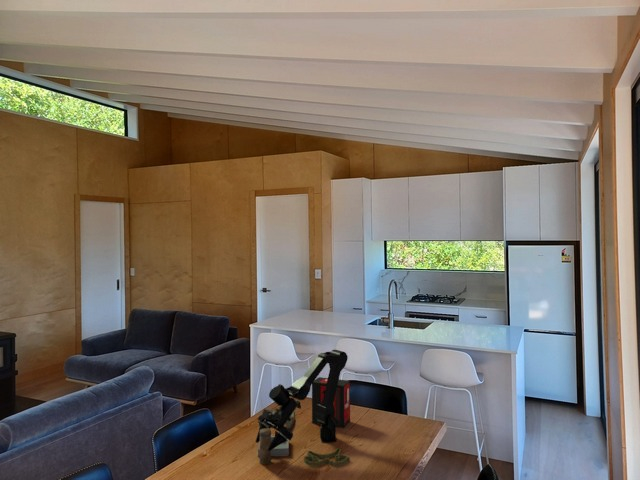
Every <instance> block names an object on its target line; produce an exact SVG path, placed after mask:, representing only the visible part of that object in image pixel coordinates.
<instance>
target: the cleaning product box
mask: <svg viewBox="0 0 640 480" xmlns="http://www.w3.org/2000/svg"><path fill="white" fill-rule="evenodd" d="M327 380H328V377H321V376H319V377H318V376H317V378H316V379H315V380H314V381H313V383H312V384H311V417H312V418H311V424H314V425H320V426H321V424H319V423H318V420H317V419H316V417H315V415H316V414H315V411H316V407H317V404H319V405H320V404H321V403H322V401H323V398H324V393H325V389H326V384H327ZM334 409H335V418H336V419H337V420H338V421H339V426H338V427H337V428H339V429H345V428H346V427H347V426H348V425H349V424H350V422H351V380H348V379H339V381H338V385H337V390H336V394H335V399H334Z"/></svg>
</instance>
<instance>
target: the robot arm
mask: <svg viewBox="0 0 640 480" xmlns="http://www.w3.org/2000/svg"><path fill="white" fill-rule="evenodd" d="M348 358H349V357H348V354H347V353H346V351H342V350H339V349H332V350H331V351H325V352H321V353H319V354H318V355H317V357H316V359H315V360H314V362H313V363H312V364H311V365H310V366H309V368H308V369H307V371H305V373H304V375H303V376H302V377H300V378H299V379H298V378H297V380H295V381H294V382H293V383H292V384H291V385H290V386H289V387H286V388H285V386H284V385H283V384H281V383H279V384H278V385H277V386H275V387H273V388H272V389H270V391H269V393H268V397H269V398H270V400H272V401H273V402H274V403H275V404H276V405H277V406H279V408H275V409H274V410H270V409H269V408H268V409H267V408H263V410H262V414H260V415H259V416H258V418H257V423H258V425H259V426H258V427H259V428H258V433H257V435H256V439H255V443H256V444H259V441H260V435H259V431H260V430H261V429H265V428H267V429H270V430H271V429H274V436H275V437H274V439H273V440H272V442H271V444H270V446H269V448H268V450H269V451H270V450H272V449H274V448H275V447H277V446H278V445H280V444H282V443H284V442H285V441H288V440H289V441H291V440H292V439H293V437H294V433H293V432H292V430H291V431H290V430H289V429H287V428H286V427H285V426H286V423H287V421H290V420H291V419H290V416H291V415H292V413H293V412H294V413H295V410H296V409H299V410H301V409H302V405H301V401H304V400H306V398H307V397H308V395H309V393H310V392H311V389H312V383H313V381H314V380H316V379H317V378H318V376H319V375H320V374H321V372H322V371H323V369H324V368H325V367H326V366H327V364H328V366H329V371H328V377H327V378H328V380H327V384H326V389H325V393H324V398H323V401H322V403H321V404H320V405H319V404H317V407H316V411H315V414H316V415H315V417H316V419H317V420H318V423H319V424H318V425H320V424H321V425H320V427H319V439H320V440H321V443H333V442H334V443H336V442H337V437H336V436H337V432H336V431H337V428H339V427H338V426H339V421H338V420H337V419H336V418H335V409H334V399H335V394H336V390H337V385H338V381H339V380H340V375H341V372H342V371H343V369H345V367H346V364H347V362H348ZM287 439H288V440H287Z"/></svg>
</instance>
